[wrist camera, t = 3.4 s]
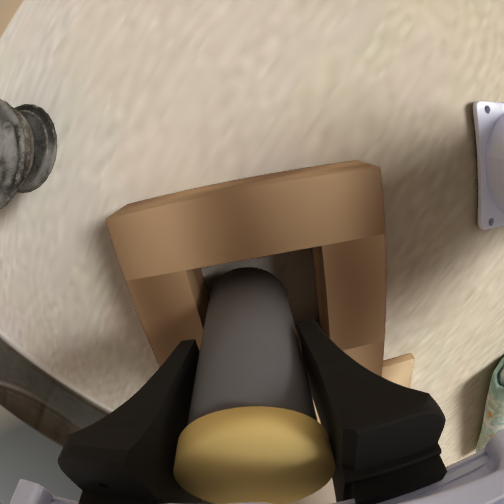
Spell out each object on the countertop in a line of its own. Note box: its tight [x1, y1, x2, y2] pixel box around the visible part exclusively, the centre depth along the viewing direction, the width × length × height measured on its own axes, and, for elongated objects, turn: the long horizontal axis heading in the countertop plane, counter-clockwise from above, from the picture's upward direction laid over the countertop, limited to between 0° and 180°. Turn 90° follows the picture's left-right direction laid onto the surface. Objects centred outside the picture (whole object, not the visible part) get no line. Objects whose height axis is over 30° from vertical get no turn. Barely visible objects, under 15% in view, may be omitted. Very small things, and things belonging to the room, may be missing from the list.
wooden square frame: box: [106, 161, 386, 377], centre depth 16 cm, size 12×12×3 cm
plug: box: [173, 267, 335, 504], centre depth 12 cm, size 4×4×10 cm
